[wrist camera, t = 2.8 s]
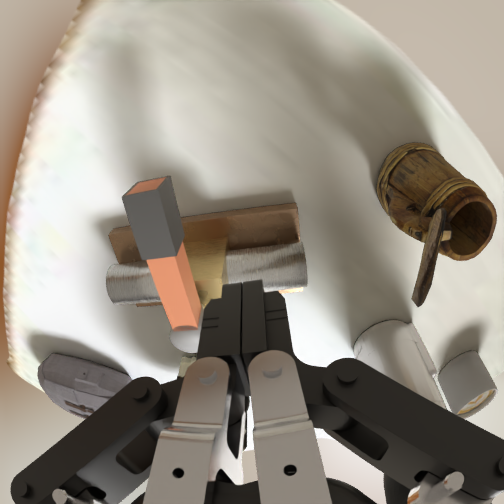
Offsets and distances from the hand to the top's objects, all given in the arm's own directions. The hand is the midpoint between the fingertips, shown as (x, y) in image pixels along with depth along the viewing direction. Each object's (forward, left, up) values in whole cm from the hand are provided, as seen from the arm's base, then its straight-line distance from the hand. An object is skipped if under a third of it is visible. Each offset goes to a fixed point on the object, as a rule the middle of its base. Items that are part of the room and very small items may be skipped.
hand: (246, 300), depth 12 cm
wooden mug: (-15, +3, -20) cm, 25 cm away
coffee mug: (-36, +43, -20) cm, 59 cm away
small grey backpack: (+34, +32, -20) cm, 51 cm away
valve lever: (+6, +4, -9) cm, 12 cm away
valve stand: (+6, +9, -19) cm, 22 cm away
